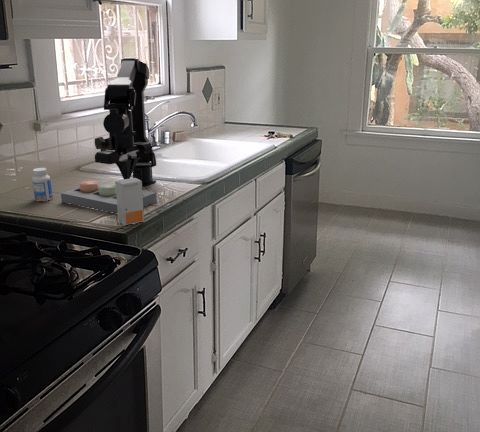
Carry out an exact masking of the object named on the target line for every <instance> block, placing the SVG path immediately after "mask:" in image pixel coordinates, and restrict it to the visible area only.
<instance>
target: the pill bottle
mask: <svg viewBox="0 0 480 432" xmlns="http://www.w3.org/2000/svg"><path fill="white" fill-rule="evenodd" d="M32 174H33V176H32V177H31V183H32V189H33V194H34V200H35V201H36V202H39V201H43V202H49V201H51V200H52V199H54V195H53V188H52V181H51V177H50V175H48V171H47V168H46V167H35V168H33V169H32ZM48 200H49V201H48Z"/></svg>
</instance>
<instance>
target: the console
mask: <svg viewBox="0 0 480 432" xmlns="http://www.w3.org/2000/svg"><path fill="white" fill-rule="evenodd" d="M97 182H98V187H99V186H101V185H105V184H107V182H106V183H105V182H100V181H97ZM142 194H143V208H145V207H147V206H146V205H148V206H149V204H150V205H152V204H151V203H153V204H155V203H157V192H155V191H149V190H144V189H142ZM60 199H61V203H62V202H65V203H64V204H66V203H71V204H75V205H74V206H76V205H80V206H84V207H83V208H85V207H89V208H88V209H90V208H94V209H98V210H97V211H99V210H103V211H102V212H104V211H107V212H106V213H108V212H113V213H118V210H117V197H116V195H114V196H111V197H104V196H99V191H96V192H93V193H90V194H89V193H84V192H80V186H78V187H76V188H73V189H70V190H67V191H64V192H60ZM154 202H155V203H154ZM71 204H70V205H71ZM80 206H79V207H80ZM144 206H145V207H144ZM94 209H93V210H94ZM113 213H112V214H113Z"/></svg>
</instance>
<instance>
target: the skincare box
mask: <svg viewBox="0 0 480 432" xmlns="http://www.w3.org/2000/svg"><path fill="white" fill-rule="evenodd" d="M114 182H115V185H116V197H117V210H118V215H117V219H118V220H117V221H119V222H120V223H122V224H123V225H128V224H133V223H138V222H143V223H145V218H144V217H145V215H144V214H145V213H144V207H143V194H142V190H143V186H142V181H141V180H139V179H137V178H133V177H130V179H121V180H115V181H114ZM119 222H118V223H119ZM120 223H119V224H120ZM122 224H121V225H122ZM138 224H139V223H138ZM123 225H122V226H123ZM133 225H134V224H133ZM128 226H129V225H128Z"/></svg>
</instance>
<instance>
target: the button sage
mask: <svg viewBox="0 0 480 432" xmlns="http://www.w3.org/2000/svg"><path fill="white" fill-rule="evenodd" d="M98 189H99V196H104V197H111V196H114V195H116V184H114V183H106V184H105V185H101V186H99V187H98Z"/></svg>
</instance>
